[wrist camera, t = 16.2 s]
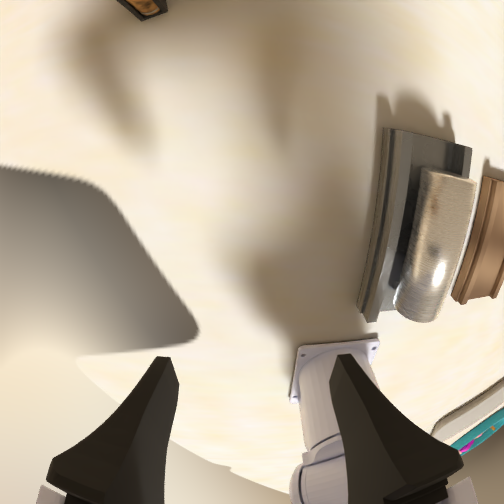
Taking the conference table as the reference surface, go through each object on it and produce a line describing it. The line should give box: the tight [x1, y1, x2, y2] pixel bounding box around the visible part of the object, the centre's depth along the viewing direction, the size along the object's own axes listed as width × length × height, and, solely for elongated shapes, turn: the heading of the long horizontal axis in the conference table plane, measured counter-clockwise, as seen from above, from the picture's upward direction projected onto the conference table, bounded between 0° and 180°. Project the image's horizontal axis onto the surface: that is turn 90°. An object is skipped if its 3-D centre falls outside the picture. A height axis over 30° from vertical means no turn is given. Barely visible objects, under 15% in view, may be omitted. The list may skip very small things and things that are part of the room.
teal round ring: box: [451, 408, 504, 456], centre depth 50 cm, size 30×30×6 cm
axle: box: [393, 167, 477, 323], centre depth 16 cm, size 10×4×4 cm, turn 1°
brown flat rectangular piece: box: [451, 176, 504, 305], centre depth 18 cm, size 12×7×2 cm, turn 0°
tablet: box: [431, 379, 504, 442], centre depth 37 cm, size 16×26×2 cm, turn 112°
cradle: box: [357, 128, 472, 323], centre depth 17 cm, size 14×7×2 cm, turn 0°
